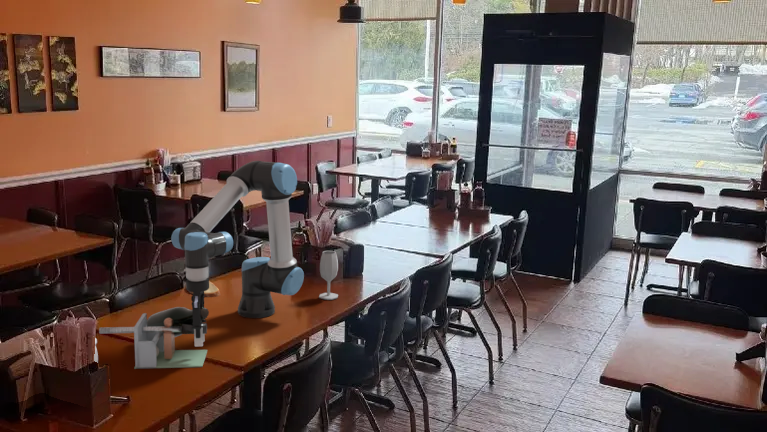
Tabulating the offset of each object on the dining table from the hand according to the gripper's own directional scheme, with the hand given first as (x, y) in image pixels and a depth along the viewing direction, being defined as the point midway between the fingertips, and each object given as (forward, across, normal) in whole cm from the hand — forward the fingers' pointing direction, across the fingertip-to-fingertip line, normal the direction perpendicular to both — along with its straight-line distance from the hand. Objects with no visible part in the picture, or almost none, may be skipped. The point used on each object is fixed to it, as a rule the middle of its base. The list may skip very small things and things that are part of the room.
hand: (199, 343), depth 235 cm
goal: (+5, 0, -16) cm, 17 cm away
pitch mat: (+5, 0, -9) cm, 11 cm away
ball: (+2, 0, -16) cm, 16 cm away
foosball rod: (+4, 0, -15) cm, 16 cm away
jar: (+6, +20, -34) cm, 39 cm away
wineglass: (+6, -67, +48) cm, 82 cm away
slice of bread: (+6, -80, -8) cm, 80 cm away
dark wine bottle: (+1, -19, -18) cm, 26 cm away
